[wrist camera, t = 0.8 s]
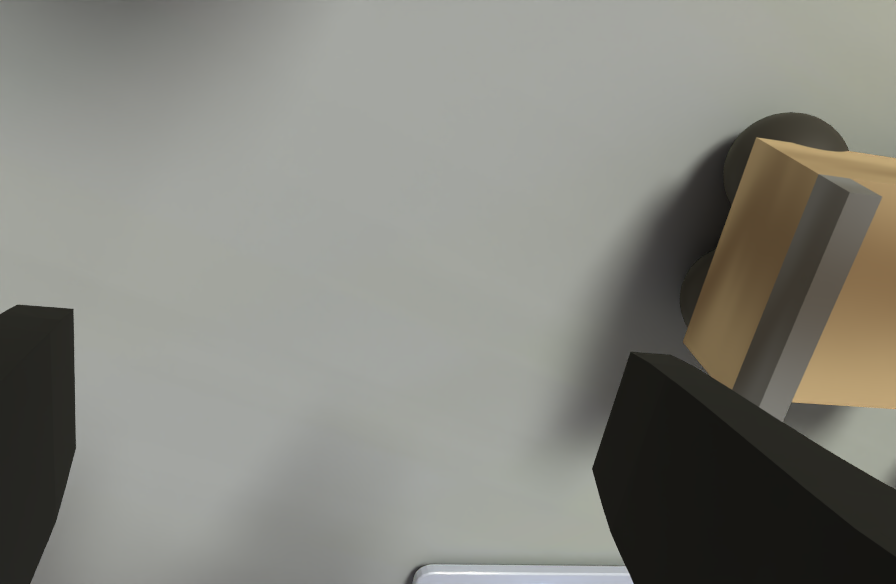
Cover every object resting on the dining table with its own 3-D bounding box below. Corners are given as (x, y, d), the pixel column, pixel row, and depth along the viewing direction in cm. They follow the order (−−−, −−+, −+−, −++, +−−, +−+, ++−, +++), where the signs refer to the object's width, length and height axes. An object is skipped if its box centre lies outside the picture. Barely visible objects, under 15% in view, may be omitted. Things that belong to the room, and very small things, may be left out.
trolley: (902, 339, 24) (1058, 461, 19) (643, 316, 22) (743, 444, 17) (1002, 136, 21) (1213, 217, 16) (717, 90, 19) (860, 165, 14)
